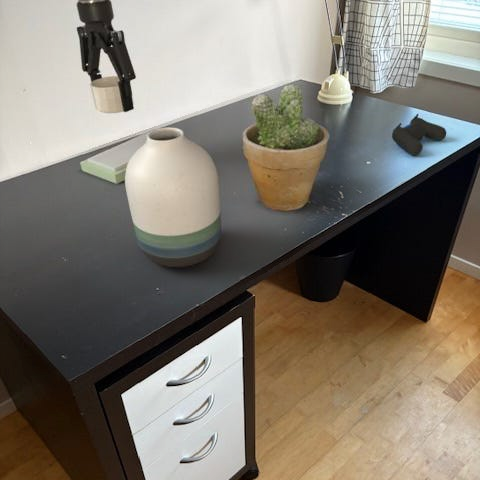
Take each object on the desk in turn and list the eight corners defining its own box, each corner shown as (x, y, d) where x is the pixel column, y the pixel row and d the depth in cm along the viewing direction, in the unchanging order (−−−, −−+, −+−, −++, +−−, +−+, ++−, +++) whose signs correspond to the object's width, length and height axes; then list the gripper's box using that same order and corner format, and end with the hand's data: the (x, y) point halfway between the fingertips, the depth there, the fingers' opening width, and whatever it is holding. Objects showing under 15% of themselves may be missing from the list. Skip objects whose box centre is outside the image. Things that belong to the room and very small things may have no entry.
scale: (82, 170, 128) (79, 159, 126) (151, 139, 143) (149, 128, 141) (116, 184, 121) (114, 172, 119) (185, 149, 136) (184, 138, 134)
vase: (135, 237, 102) (111, 124, 86) (212, 224, 105) (202, 111, 89) (146, 283, 90) (120, 160, 74) (232, 266, 93) (225, 145, 77)
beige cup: (88, 109, 119) (82, 84, 114) (117, 99, 124) (112, 74, 120) (113, 116, 114) (107, 90, 110) (142, 105, 119) (137, 79, 115)
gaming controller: (437, 146, 137) (414, 121, 138) (451, 131, 132) (427, 105, 133) (406, 165, 129) (382, 138, 130) (420, 150, 124) (395, 122, 125)
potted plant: (259, 177, 121) (258, 70, 104) (331, 187, 116) (342, 76, 99) (233, 212, 109) (227, 97, 92) (312, 224, 103) (321, 104, 86)
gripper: (140, 0, 101) (156, 110, 116) (75, -7, 111) (98, 95, 126) (113, 6, 96) (133, 119, 111) (48, -1, 107) (75, 103, 122)
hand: (115, 106), depth 119 cm, fingers closed on beige cup, 9 cm apart
